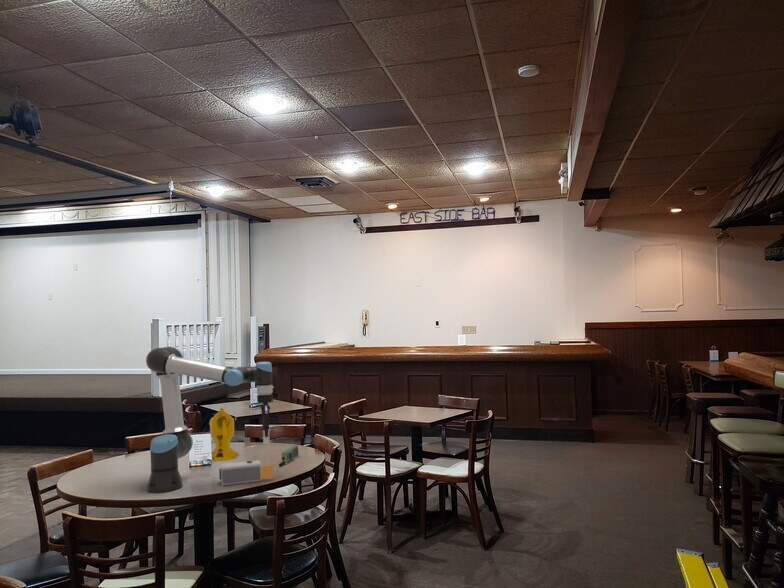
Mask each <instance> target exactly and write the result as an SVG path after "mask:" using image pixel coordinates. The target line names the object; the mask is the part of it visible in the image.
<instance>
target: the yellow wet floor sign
mask: <svg viewBox="0 0 784 588" xmlns="http://www.w3.org/2000/svg"><path fill="white" fill-rule="evenodd" d="M208 425H209V428H210V429H209V431H210V432H209V434H210V436H211V438H212V440H213V441H214V443H215V446H214V447H215V448H214V450H213V451H211V453H212V460H213V462H220V461H221V462H222V461H223V462H224V461H231V460H233V459H238V457H239V452H238V451H236V450H235V449H233V448H232V447H231V440H232V438H233V436H234V435H235V419H234V418H233V417H232V416H231V415H230V414H229V413H228V412H226V411H225V408H223V407H220V408H219V411H218V412H216V413H215V415H214V416H213V417H211V418H210V420H209V422H208ZM230 459H231V460H230ZM212 460H211V461H212Z"/></svg>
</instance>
